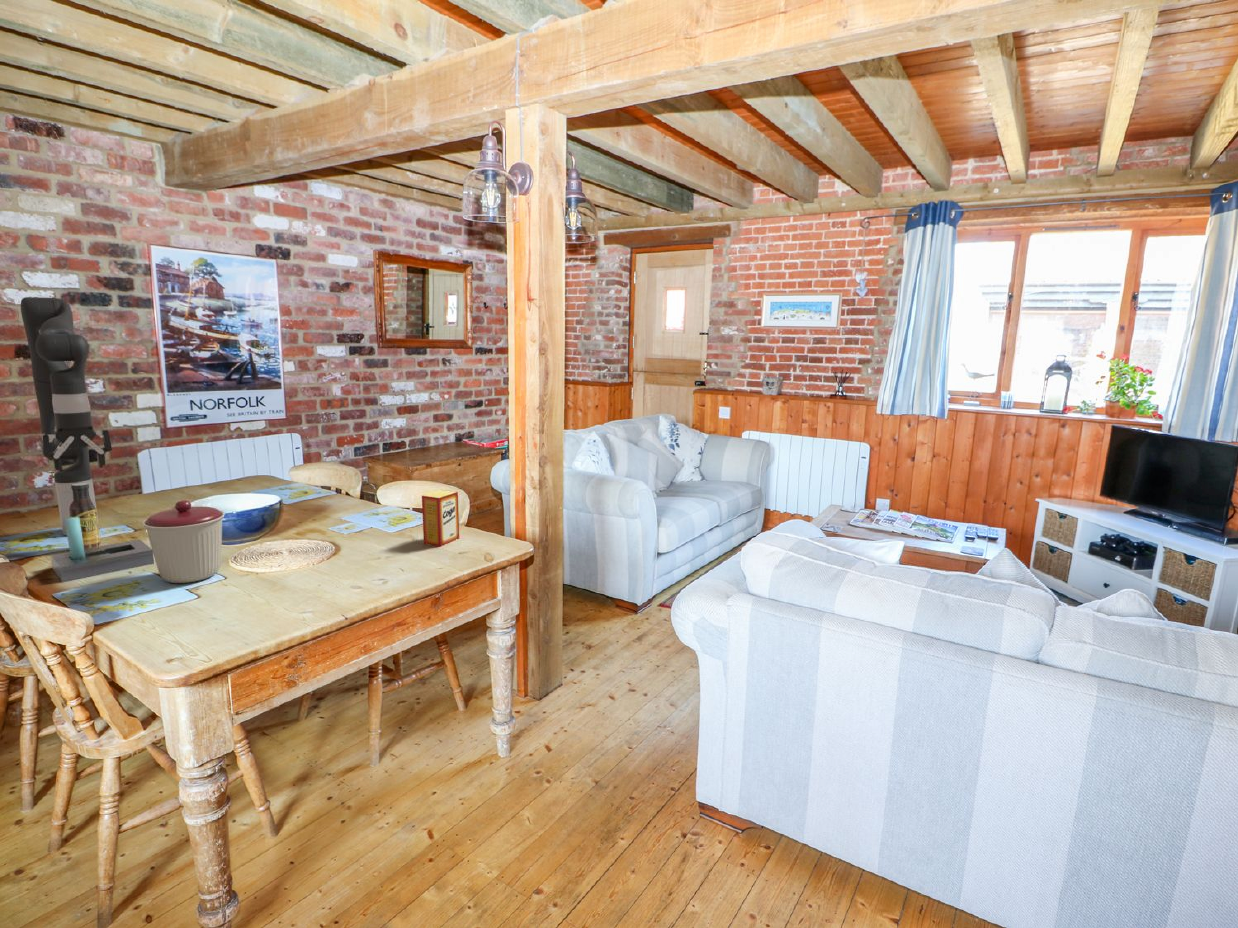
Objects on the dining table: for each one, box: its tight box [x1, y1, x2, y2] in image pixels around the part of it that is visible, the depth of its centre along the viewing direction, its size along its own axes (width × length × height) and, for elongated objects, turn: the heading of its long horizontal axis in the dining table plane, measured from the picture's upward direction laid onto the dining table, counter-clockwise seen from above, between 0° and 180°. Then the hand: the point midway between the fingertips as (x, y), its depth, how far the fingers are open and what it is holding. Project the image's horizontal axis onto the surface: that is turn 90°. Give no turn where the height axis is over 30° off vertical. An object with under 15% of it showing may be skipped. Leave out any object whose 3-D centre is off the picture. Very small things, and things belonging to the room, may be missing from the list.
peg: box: [65, 517, 85, 560], centre depth 174 cm, size 5×5×15 cm
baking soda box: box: [421, 489, 460, 548], centre depth 205 cm, size 10×6×16 cm
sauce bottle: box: [69, 483, 101, 549], centre depth 192 cm, size 6×6×20 cm
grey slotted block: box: [50, 538, 155, 583], centre depth 179 cm, size 14×20×4 cm
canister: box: [141, 500, 226, 584], centre depth 171 cm, size 18×18×21 cm
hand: (80, 469), depth 175 cm, fingers open, 8 cm apart
